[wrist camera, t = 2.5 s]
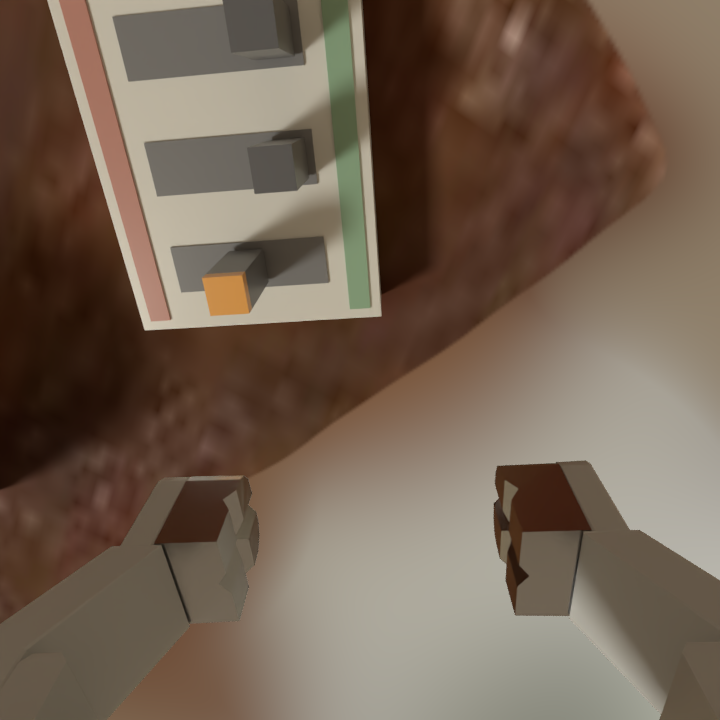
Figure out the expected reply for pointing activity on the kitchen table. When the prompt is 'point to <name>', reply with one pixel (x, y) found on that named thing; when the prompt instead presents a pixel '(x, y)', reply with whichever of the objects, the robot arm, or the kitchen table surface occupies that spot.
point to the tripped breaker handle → (235, 282)
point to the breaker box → (231, 149)
